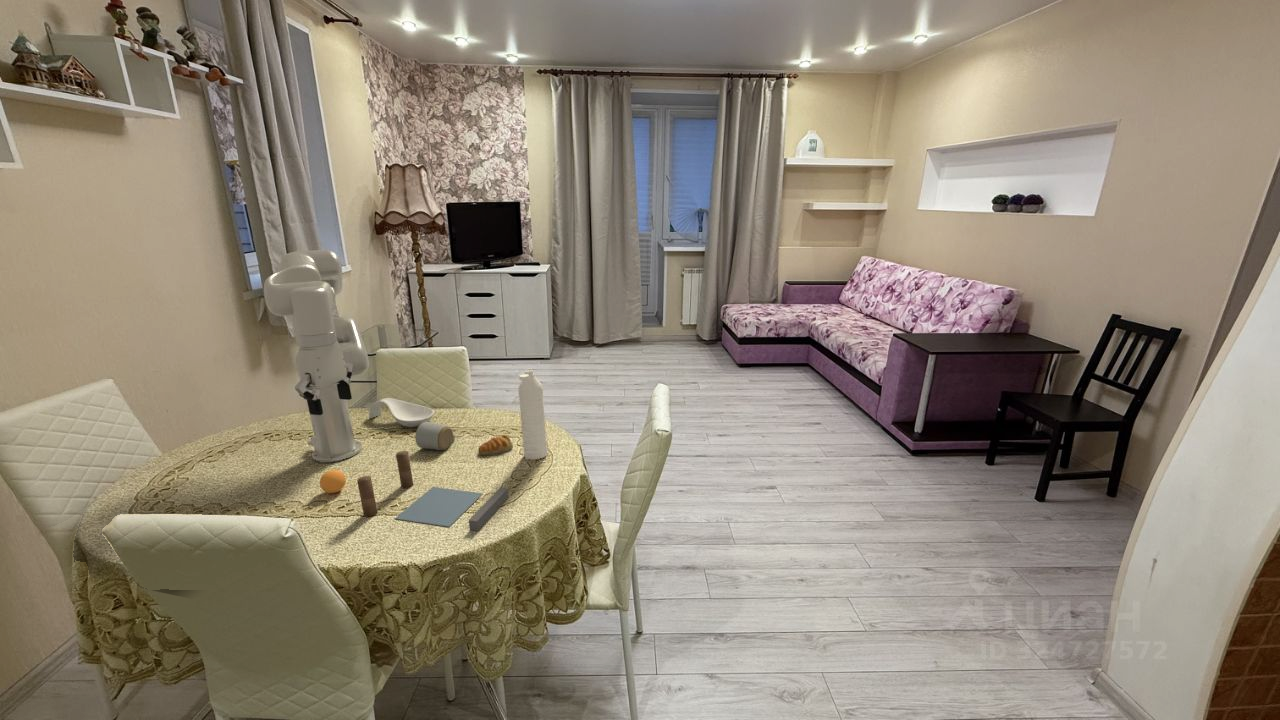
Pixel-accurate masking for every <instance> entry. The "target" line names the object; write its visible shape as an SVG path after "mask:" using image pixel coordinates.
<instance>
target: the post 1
mask: <svg viewBox="0 0 1280 720" xmlns="http://www.w3.org/2000/svg"><path fill="white" fill-rule="evenodd" d="M356 481H357V487H358V491H359V492H358V493H359V497H360V502H361V507H362V512H363V513H362V514H363V517H364V518H372V517H374V516H376V515H377V514H378V508H377V503H376V497H375V492H374V485H373V480H372V477H371V476H370V475H363V476H360V477H358V479H357V480H356Z"/></svg>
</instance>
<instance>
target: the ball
mask: <svg viewBox="0 0 1280 720" xmlns="http://www.w3.org/2000/svg"><path fill="white" fill-rule="evenodd" d="M346 482H347V478H346V475H345V474H344V472H343V471H340V470H338V469H337V470H336V469H330V470H328V471H326V472H325V473H323V474H322V476H321V477H320V479H319V486H320V488H321V490H322V491H323V492H324V493H328V494H336V493H338V492H340V491H341V490H342V489H343V488H345V485H346Z"/></svg>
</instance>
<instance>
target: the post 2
mask: <svg viewBox="0 0 1280 720" xmlns="http://www.w3.org/2000/svg"><path fill="white" fill-rule="evenodd" d="M395 457H396V463H397V464H396V465H397V470H398V475H399V481H400V486H401V487H400V488H401V489H409V488H412V487H413V486H414V481H413V480H414V479H413V473H412V468H411V461H410V455H409V451H407V450H400V451H397V452H396V453H395Z"/></svg>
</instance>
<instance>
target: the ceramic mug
mask: <svg viewBox="0 0 1280 720" xmlns="http://www.w3.org/2000/svg"><path fill="white" fill-rule="evenodd" d="M455 439H456V435H455V434H454V433H453V430H452V428H451V427H450V426H448V425H446V424H440V423H435V422H431V421H428V422H423V423H422V424H421V425H420V426H417V429H416V432H415V440H414V441H415V443H416V446H417V447H419V448H421V449H428V450H436V451H445V450H447V449H448V448H450V447H451V445H452V442H453V441H455Z"/></svg>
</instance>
